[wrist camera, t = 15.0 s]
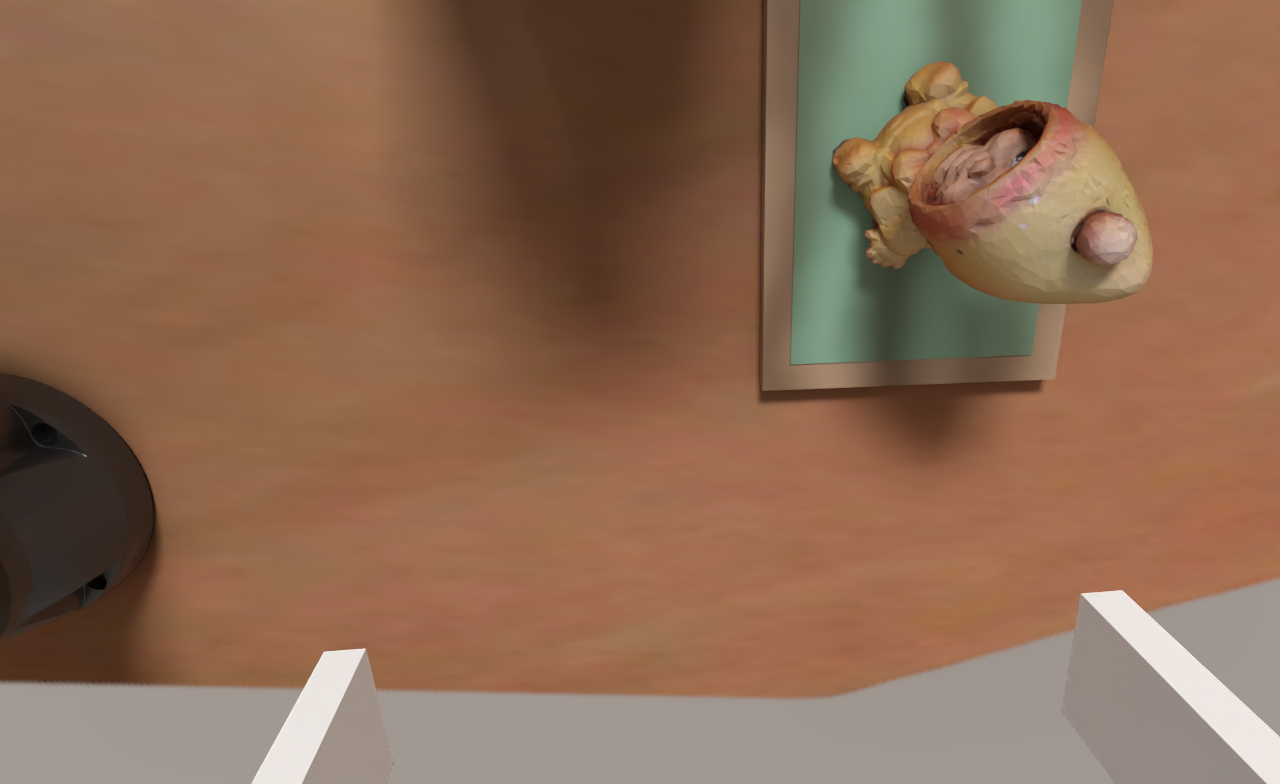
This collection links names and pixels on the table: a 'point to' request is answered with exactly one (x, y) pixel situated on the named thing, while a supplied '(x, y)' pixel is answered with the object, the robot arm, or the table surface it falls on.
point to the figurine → (1000, 195)
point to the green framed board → (835, 215)
